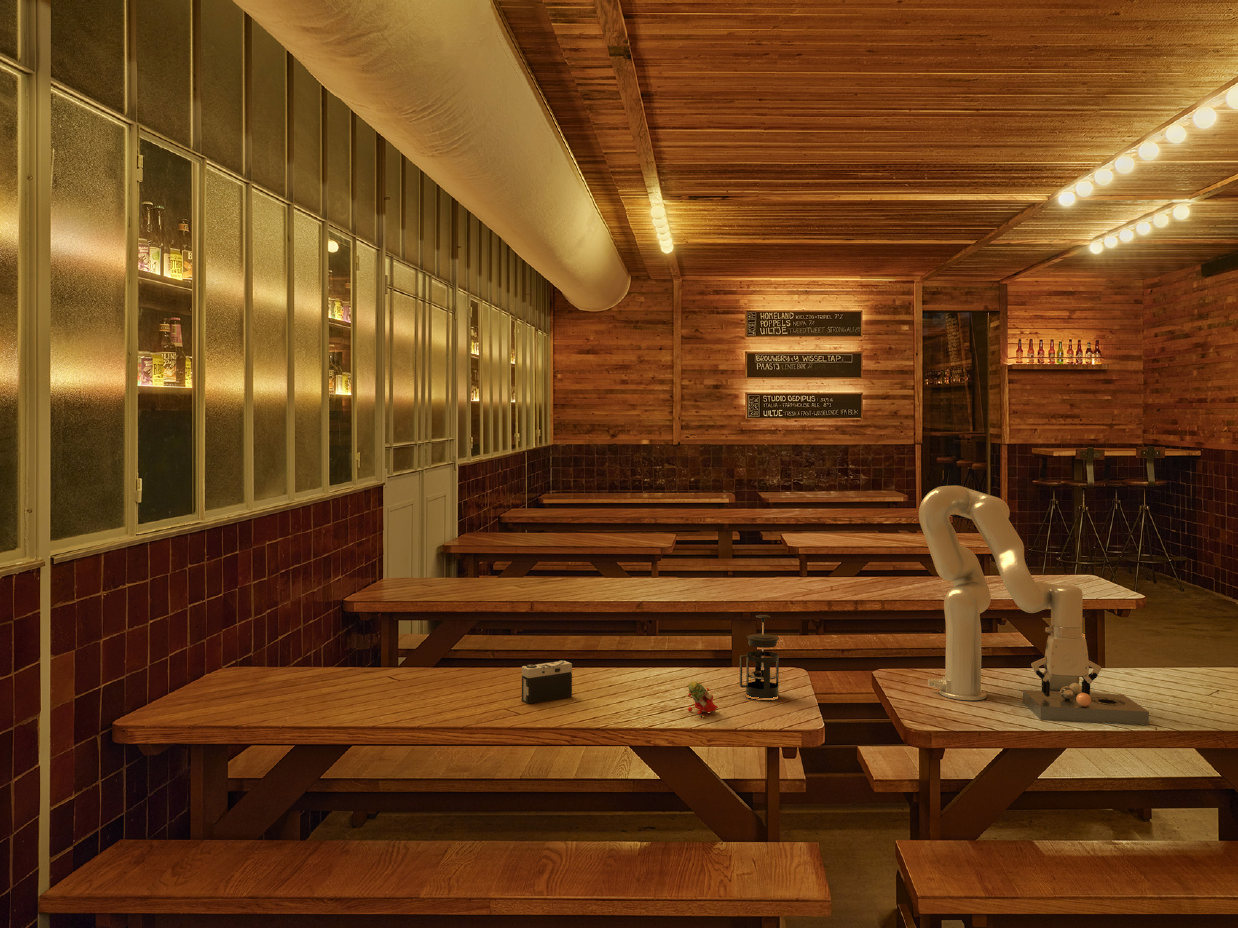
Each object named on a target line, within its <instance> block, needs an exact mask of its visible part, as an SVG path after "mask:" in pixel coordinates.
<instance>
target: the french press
mask: <svg viewBox="0 0 1238 928" xmlns="http://www.w3.org/2000/svg"><path fill="white" fill-rule="evenodd" d="M755 618H759V619H761V624H762V625H761V627H762V630H761V633H759V634H758V633H754V634H748V635H746V639H748V640H747V641H748V643H747V644H748V646H750V647H752V648H753V647H754V648H761V650H755V651H752V650H751V651H749V652H747V653H746V654H740V655H739V687H740V688H741V689H742V688H743V689H744V688H745V692H746V693H745V694H747V695H749V696H751V697H759V698H773V697H777V696H778V695H779V671H780V670H779V667H780V666H779V665H780V663H779V661H780V660H779V658H780V655H779V654H778V653H776V652H773V651H766V650H764V648H766V649H769V648H775V647H776V646H777V644H778V641H779V640H780V637H779V636H777V635H774V634H768V633H767V634H765V633H764V630H765V629H764V628H765V627H764V626H765V624H764V623H765V621H766V619H770V618H771V616H770V615H768V614H758V615H757V614H756V615H755ZM743 658H746V665H745V667H746V674H745V675H746V676H745V677H746V682H745V684H743ZM750 662H754V665H755V666H754V670H752V671H750V670H749V669H750ZM771 663H775V672H773V671H771ZM750 678H751V679H754V681H749V680H750ZM771 680H775V682H772V681H771Z"/></svg>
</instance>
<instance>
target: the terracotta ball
mask: <svg viewBox="0 0 1238 928" xmlns="http://www.w3.org/2000/svg"><path fill="white" fill-rule="evenodd" d="M1076 701H1077V703H1078V704H1079V705H1080V706H1083V707H1086V706H1089V705H1090V703H1091V698H1090V696H1089V695H1088V694H1086V693H1082V692H1080V694H1078V695H1077V697H1076Z"/></svg>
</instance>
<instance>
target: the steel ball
mask: <svg viewBox="0 0 1238 928" xmlns="http://www.w3.org/2000/svg"><path fill="white" fill-rule="evenodd" d="M1059 692H1060V694H1061V696H1062V697H1063V698H1064V699H1066V700H1070V699H1072V698H1073V697H1074V695H1075V692H1074V690H1073V689H1072V688H1071V687H1069V686H1065V687H1062V688H1061V690H1060V691H1059Z"/></svg>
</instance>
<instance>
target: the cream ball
mask: <svg viewBox="0 0 1238 928" xmlns="http://www.w3.org/2000/svg"><path fill="white" fill-rule="evenodd" d="M1069 687H1071V688H1072V689H1073V690H1074V692H1075V694H1079V693H1082V685H1080V683H1079V684H1077V683H1072V684H1071V685H1070V686H1069Z"/></svg>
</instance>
